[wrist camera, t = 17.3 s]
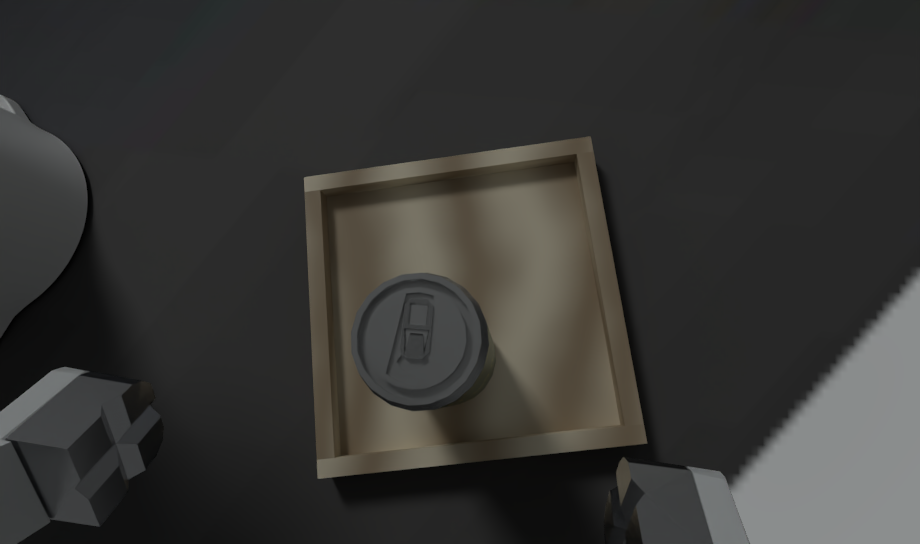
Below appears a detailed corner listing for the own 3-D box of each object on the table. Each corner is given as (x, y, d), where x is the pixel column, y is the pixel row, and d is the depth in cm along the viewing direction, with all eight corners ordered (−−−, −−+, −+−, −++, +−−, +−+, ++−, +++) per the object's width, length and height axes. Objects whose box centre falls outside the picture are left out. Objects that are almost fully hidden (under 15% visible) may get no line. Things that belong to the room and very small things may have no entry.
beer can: (410, 309, 32) (353, 262, 20) (499, 316, 32) (493, 271, 20) (401, 400, 31) (335, 405, 19) (492, 409, 30) (482, 418, 19)
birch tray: (329, 473, 31) (317, 478, 29) (315, 189, 35) (303, 177, 33) (638, 440, 30) (647, 443, 28) (585, 151, 34) (590, 136, 32)
